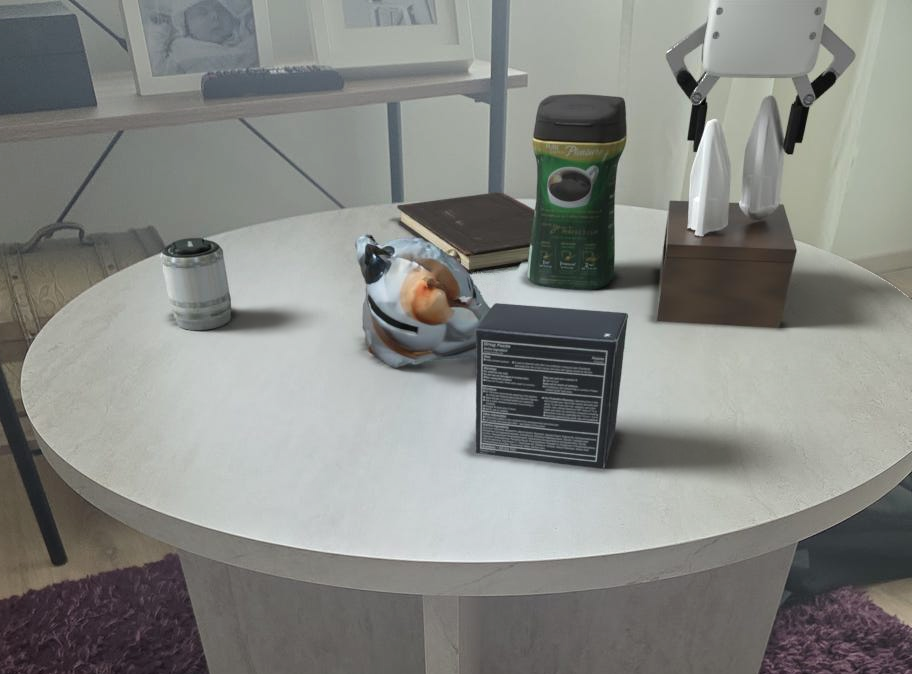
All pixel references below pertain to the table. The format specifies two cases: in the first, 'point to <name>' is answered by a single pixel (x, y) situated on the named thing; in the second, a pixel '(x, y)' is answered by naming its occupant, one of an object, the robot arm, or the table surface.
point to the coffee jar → (576, 190)
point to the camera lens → (197, 283)
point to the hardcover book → (474, 228)
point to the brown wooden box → (726, 270)
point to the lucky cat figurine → (417, 302)
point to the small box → (548, 383)
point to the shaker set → (758, 172)
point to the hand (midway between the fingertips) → (742, 149)
